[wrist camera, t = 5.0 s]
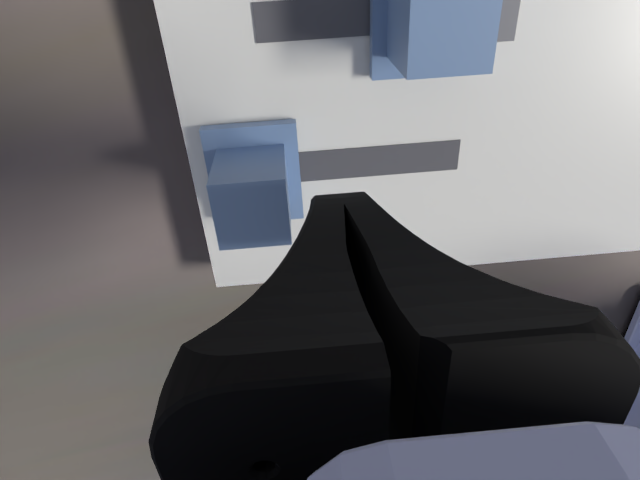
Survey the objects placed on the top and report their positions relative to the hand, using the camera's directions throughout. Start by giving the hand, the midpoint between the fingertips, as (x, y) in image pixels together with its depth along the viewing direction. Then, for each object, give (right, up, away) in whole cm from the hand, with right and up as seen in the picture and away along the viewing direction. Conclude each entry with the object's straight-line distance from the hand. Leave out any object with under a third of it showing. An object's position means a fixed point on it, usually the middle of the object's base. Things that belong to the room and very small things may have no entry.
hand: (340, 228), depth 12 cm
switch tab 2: (+2, +6, +1) cm, 6 cm away
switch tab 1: (-3, +2, +3) cm, 4 cm away
